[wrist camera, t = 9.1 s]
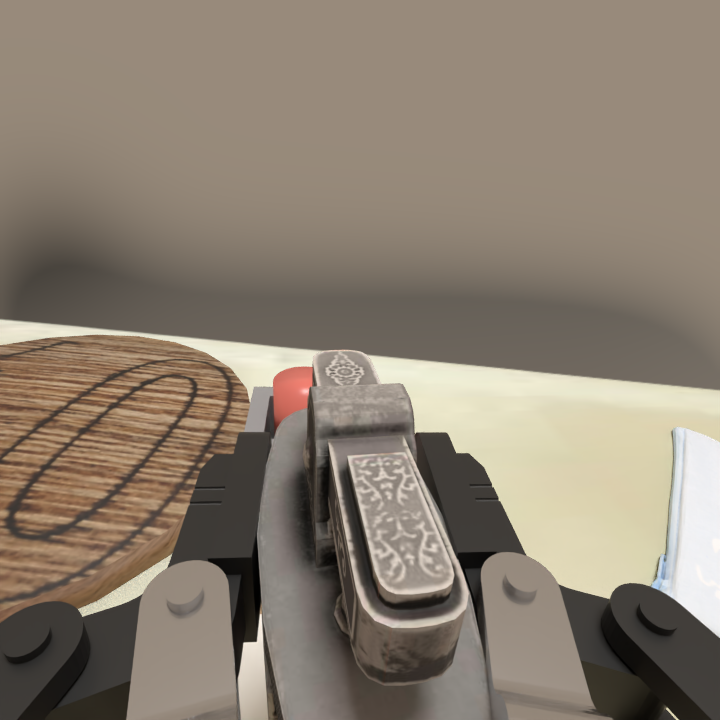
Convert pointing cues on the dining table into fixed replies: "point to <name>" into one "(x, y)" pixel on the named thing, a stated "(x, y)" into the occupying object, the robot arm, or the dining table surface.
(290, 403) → the button
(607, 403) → the dining table surface
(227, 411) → the trivet
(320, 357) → the lighter
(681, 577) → the folded patterned cloth
